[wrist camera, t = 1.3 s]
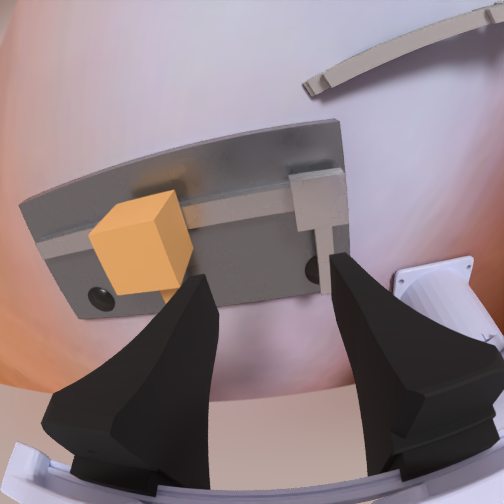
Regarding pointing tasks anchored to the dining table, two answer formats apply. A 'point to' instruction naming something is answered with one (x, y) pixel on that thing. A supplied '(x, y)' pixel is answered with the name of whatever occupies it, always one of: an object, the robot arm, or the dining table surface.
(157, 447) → the robot arm
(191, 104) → the dining table surface
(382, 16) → the dining table surface
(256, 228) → the board
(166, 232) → the block
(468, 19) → the caliper
